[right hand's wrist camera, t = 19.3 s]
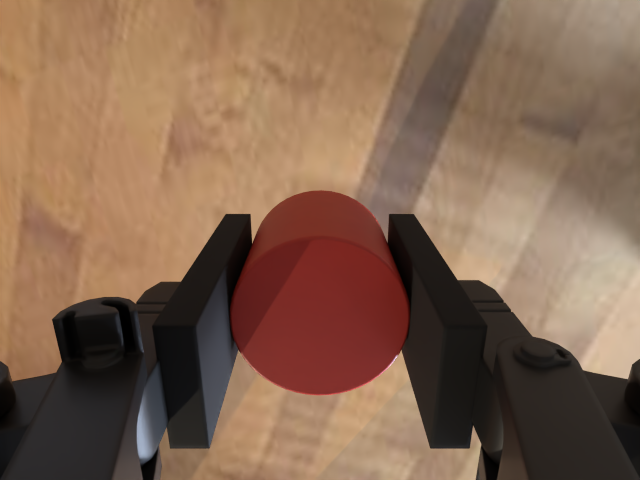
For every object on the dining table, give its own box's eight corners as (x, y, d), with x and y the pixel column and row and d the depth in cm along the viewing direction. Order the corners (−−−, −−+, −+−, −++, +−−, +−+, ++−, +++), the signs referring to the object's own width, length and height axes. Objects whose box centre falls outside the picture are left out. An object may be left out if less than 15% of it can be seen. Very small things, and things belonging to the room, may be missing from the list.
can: (309, 161, 14) (305, 198, 10) (413, 245, 14) (449, 310, 10) (227, 263, 15) (193, 333, 11) (329, 335, 16) (332, 424, 12)
